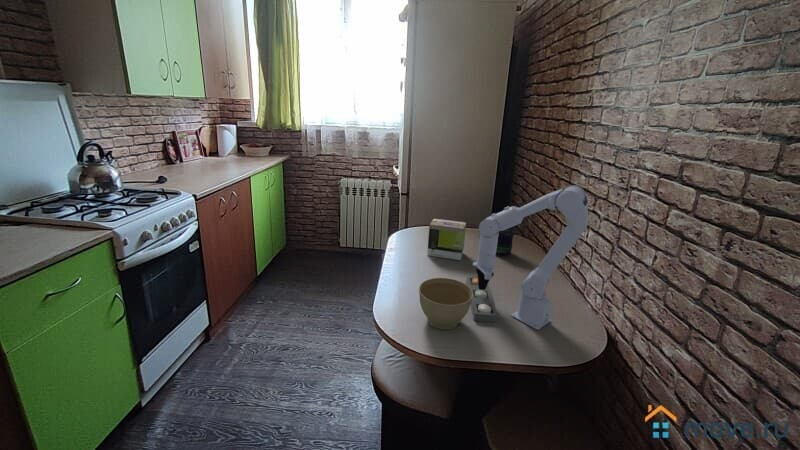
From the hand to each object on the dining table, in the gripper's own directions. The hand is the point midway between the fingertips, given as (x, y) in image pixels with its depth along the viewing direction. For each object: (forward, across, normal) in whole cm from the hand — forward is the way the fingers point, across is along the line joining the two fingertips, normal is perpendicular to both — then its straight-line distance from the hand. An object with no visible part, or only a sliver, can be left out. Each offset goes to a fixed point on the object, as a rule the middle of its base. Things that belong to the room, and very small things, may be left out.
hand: (481, 288), depth 123 cm
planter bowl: (+5, +14, -14) cm, 20 cm away
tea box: (+5, -38, -10) cm, 40 cm away
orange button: (+4, -9, 0) cm, 10 cm away
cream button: (+4, +9, 0) cm, 10 cm away
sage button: (+4, 0, 0) cm, 4 cm away
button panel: (+5, 0, 0) cm, 5 cm away
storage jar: (+5, -45, +15) cm, 48 cm away
